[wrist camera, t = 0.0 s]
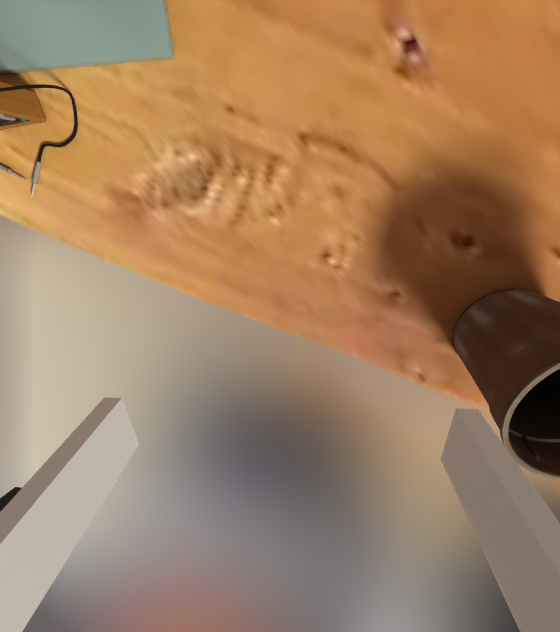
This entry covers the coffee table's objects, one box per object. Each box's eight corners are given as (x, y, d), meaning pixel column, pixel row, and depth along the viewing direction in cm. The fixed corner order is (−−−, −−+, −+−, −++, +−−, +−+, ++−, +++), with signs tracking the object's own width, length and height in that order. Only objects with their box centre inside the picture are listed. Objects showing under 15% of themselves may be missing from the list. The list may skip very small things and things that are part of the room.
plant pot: (411, 353, 42) (465, 448, 27) (487, 251, 34) (615, 307, 20) (507, 392, 43) (606, 501, 29) (599, 301, 36) (793, 387, 22)
